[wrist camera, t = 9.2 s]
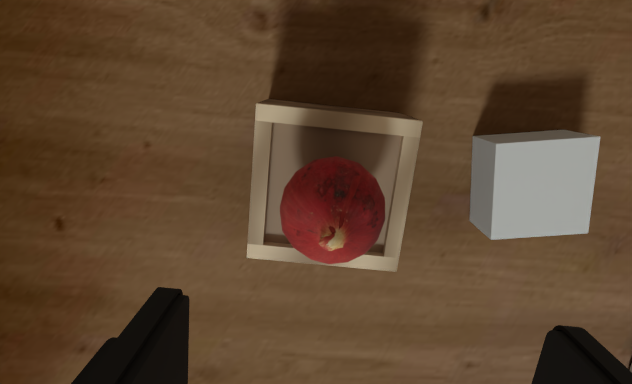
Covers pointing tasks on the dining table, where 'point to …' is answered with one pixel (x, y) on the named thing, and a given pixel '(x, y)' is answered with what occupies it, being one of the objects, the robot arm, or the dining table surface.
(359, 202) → the pomegranate
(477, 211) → the grey block
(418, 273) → the dining table surface
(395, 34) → the dining table surface
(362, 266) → the wooden open box
